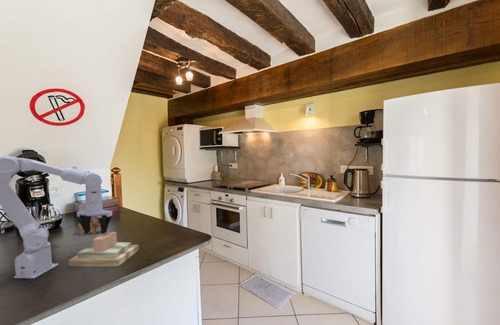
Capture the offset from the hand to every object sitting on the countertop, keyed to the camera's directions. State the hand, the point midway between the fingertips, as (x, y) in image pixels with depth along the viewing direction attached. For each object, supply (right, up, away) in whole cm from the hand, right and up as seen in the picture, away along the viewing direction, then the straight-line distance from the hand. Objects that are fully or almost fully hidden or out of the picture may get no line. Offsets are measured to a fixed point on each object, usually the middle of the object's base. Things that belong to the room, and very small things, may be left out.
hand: (95, 232), depth 94 cm
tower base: (+6, -10, -2) cm, 12 cm away
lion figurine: (-22, -9, +27) cm, 36 cm away
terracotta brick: (+6, -5, -2) cm, 8 cm away
